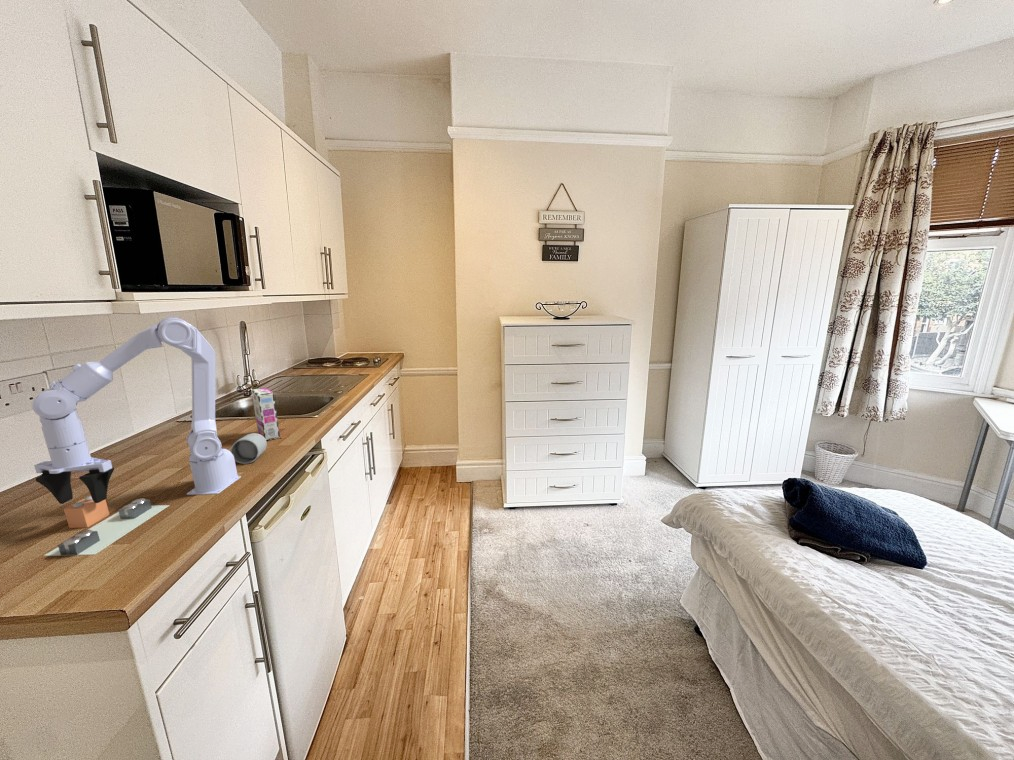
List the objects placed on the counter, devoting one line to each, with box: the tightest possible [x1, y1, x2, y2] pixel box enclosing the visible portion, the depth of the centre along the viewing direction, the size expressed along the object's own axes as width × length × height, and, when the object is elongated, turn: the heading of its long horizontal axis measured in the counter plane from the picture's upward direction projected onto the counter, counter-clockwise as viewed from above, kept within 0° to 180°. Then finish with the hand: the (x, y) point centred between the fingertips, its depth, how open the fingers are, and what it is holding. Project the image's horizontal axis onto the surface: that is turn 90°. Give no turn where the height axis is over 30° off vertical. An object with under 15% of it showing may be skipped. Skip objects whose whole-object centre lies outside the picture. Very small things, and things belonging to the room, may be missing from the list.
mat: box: [43, 504, 170, 557], centre depth 87 cm, size 18×10×1 cm, turn 0°
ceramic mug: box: [229, 432, 268, 465], centre depth 121 cm, size 11×8×8 cm
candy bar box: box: [251, 387, 281, 441], centre depth 140 cm, size 11×5×16 cm, turn 42°
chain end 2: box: [117, 497, 153, 519], centre depth 92 cm, size 5×3×2 cm
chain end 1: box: [57, 529, 100, 556], centre depth 80 cm, size 5×3×2 cm
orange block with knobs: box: [63, 495, 111, 529], centre depth 89 cm, size 5×4×6 cm
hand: (83, 501), depth 89 cm, fingers open, 7 cm apart
